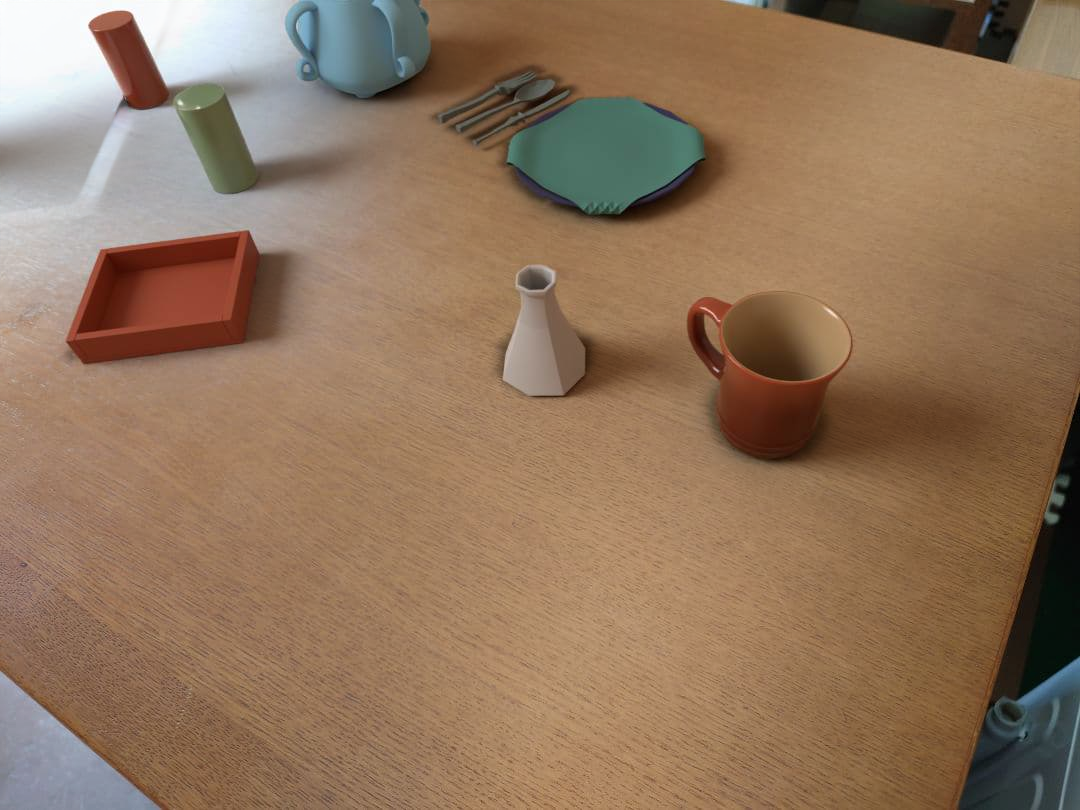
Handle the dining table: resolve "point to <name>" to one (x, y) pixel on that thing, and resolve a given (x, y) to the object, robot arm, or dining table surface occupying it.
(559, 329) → the flask
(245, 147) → the sage canister
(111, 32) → the terracotta canister
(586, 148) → the cutlery set
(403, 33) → the decorative pot
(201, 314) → the terracotta tray
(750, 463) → the dining table surface
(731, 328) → the mug
